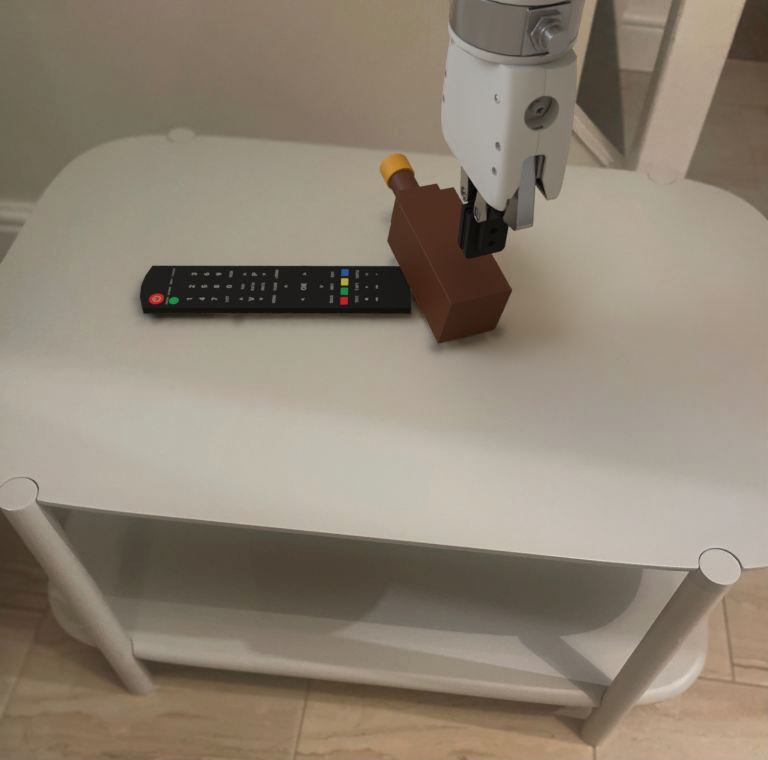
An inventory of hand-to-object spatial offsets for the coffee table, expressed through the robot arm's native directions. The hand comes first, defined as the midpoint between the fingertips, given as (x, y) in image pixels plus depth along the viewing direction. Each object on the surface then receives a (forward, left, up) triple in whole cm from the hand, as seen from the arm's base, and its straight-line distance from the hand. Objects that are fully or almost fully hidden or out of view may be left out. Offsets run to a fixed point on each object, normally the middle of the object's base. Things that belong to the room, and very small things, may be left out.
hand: (480, 248), depth 59 cm
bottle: (0, -1, -8) cm, 8 cm away
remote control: (+11, +14, -12) cm, 21 cm away
